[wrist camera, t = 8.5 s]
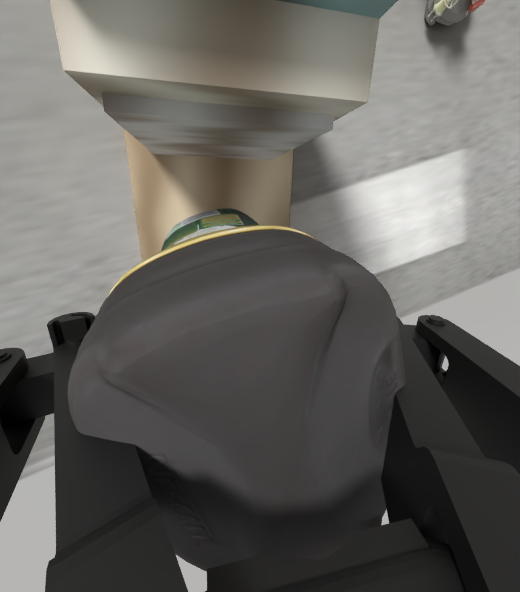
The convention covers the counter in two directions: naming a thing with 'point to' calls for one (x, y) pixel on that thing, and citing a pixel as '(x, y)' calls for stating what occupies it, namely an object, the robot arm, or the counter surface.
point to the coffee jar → (247, 388)
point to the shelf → (218, 94)
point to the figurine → (449, 10)
